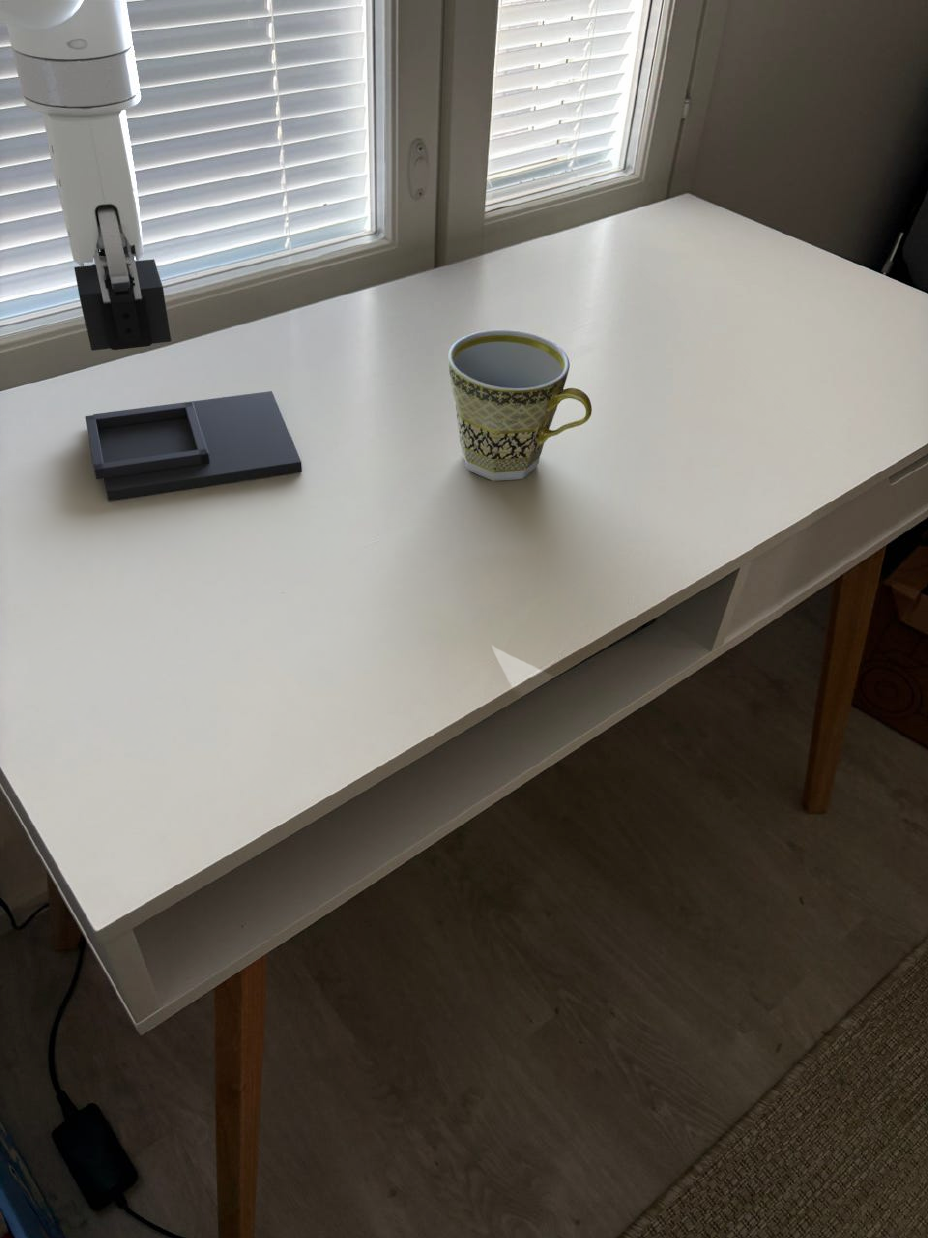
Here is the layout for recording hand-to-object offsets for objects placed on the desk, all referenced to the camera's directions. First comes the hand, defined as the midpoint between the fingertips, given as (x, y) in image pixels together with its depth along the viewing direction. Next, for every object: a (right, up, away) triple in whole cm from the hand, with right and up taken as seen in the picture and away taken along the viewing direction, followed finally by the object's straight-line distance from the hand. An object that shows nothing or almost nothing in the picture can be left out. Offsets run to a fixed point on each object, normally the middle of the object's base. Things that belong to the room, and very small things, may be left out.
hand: (126, 326), depth 79 cm
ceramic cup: (+31, -10, +10) cm, 34 cm away
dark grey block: (0, 0, 0) cm, 0 cm away
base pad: (+3, -8, +9) cm, 13 cm away
